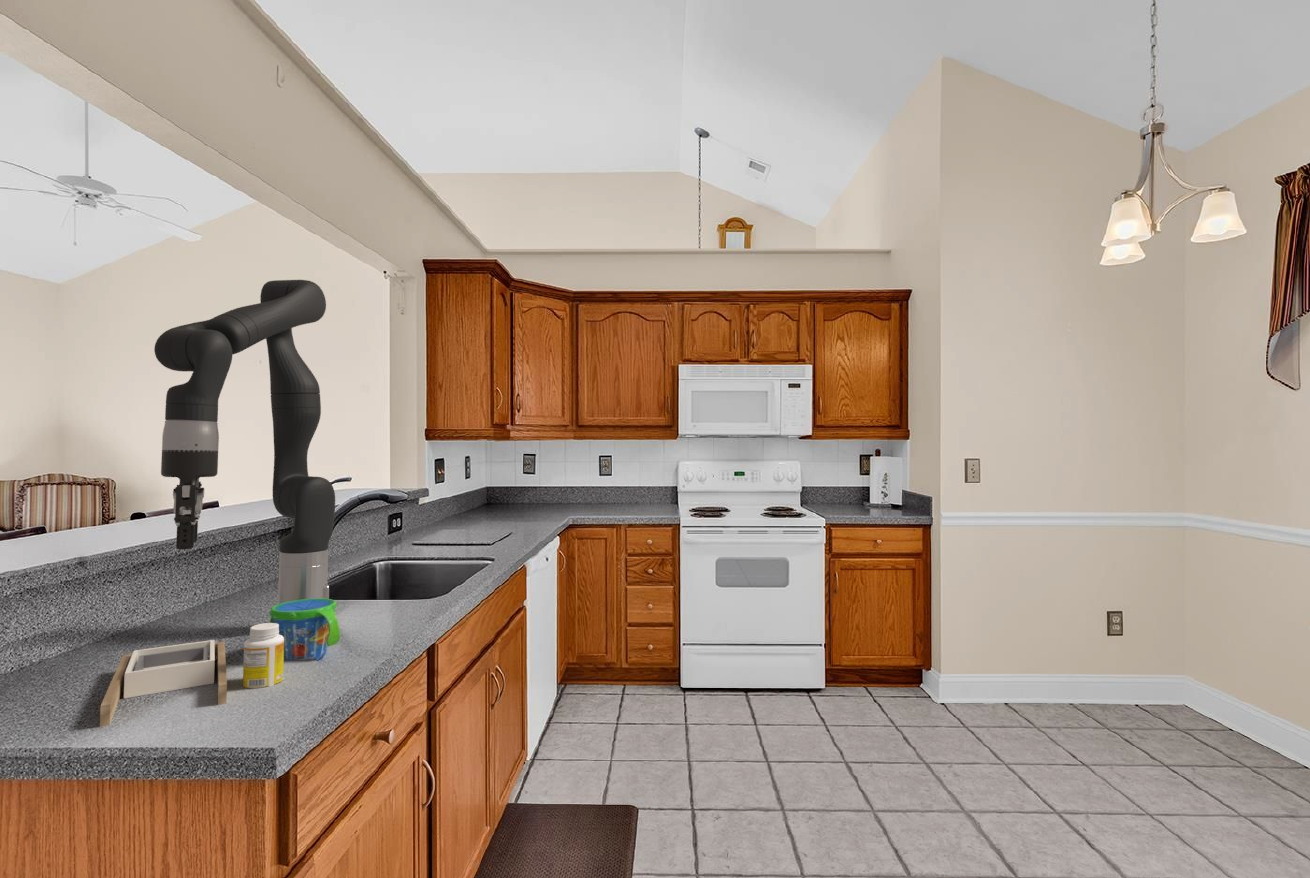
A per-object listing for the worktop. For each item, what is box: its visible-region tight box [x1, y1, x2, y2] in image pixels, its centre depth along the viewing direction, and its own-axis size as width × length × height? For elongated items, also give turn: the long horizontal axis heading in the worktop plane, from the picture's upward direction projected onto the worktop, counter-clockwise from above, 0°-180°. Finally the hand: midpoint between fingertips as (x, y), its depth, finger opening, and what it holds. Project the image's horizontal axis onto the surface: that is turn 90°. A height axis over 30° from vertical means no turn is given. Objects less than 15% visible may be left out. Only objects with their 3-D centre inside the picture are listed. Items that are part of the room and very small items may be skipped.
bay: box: [99, 640, 228, 728], centre depth 97 cm, size 14×25×4 cm, turn 36°
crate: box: [123, 639, 216, 699], centre depth 100 cm, size 11×13×4 cm
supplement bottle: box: [242, 622, 285, 689], centre depth 99 cm, size 6×6×10 cm
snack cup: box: [269, 598, 341, 661], centre depth 114 cm, size 16×10×10 cm
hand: (187, 545), depth 102 cm, fingers open, 8 cm apart
